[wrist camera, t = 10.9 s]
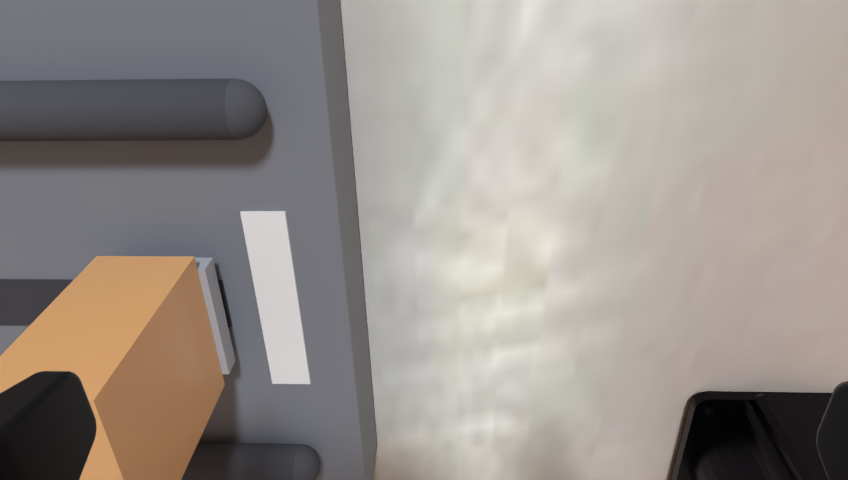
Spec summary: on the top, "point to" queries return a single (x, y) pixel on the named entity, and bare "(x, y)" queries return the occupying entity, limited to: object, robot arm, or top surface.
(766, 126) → the top surface
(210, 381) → the breaker handle
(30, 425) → the robot arm
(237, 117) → the grey slider track
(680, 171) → the top surface
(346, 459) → the panel
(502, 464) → the top surface
